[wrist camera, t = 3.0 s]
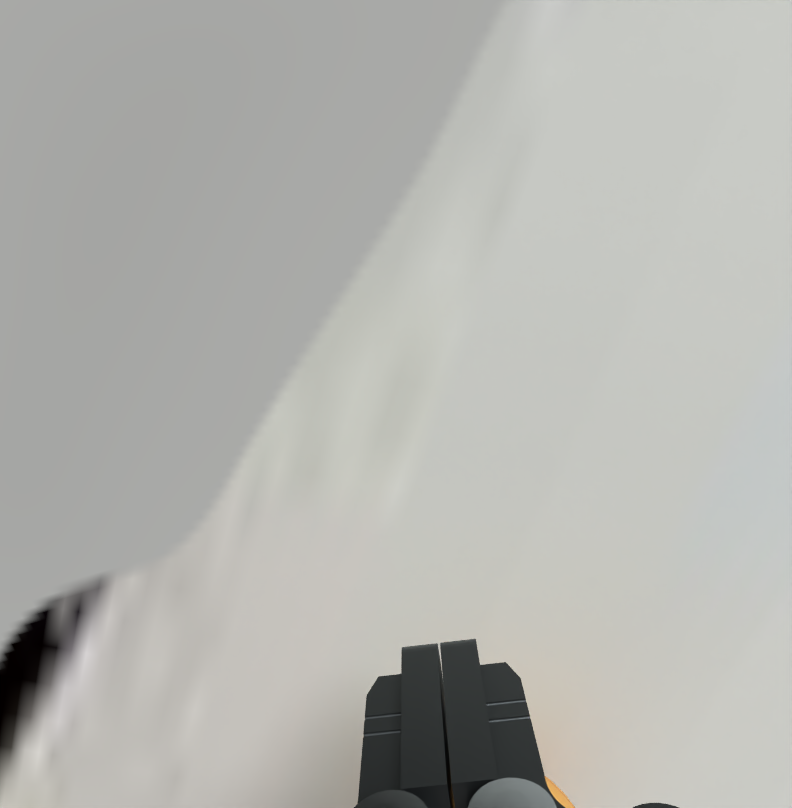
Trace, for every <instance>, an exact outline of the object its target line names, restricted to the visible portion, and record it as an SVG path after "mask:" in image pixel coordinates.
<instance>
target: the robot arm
mask: <svg viewBox="0 0 792 808" xmlns="http://www.w3.org/2000/svg"><path fill="white" fill-rule="evenodd" d="M440 646H441V659H442V670H441V663H440V656H439V649H438V644H428V645H419V646H410V647H402V673H401V674H398V675H389V676H380V677H378V678H377V680H376V682H375V683H374V685H373V686H372V688H371V690H370V691H369V693H368V694H367V698H366V710H365V723H364V737H363V747H362V760H361V772H360V784H359V796H358V804H357V805H356V806H355V807H354V808H565V807H564V806H563V805H561V804H560V803H559V802H558V801H557V800H556V799H555V797H554V796H553V795H552V794H551V792H550V790H549V788H548V786H547V783H546V780H545V776H544V772H543V768H542V764H541V759H540V755H539V751H538V747H537V743H536V739H535V735H534V731H533V727H532V723H531V719H530V715H529V711H528V707H527V703H526V699H525V694H524V690H523V686H522V682H521V678H520V677H519V676H518V675H517V674H516V673H515V672H514V671H513V670H512V669H511V668H510V666H509V665H508V664H507V663H506V662H504V663H495V664H486V665H480V663H479V657H478V650H477V644H476V639H470V640H461V641H453V642H444V643H440ZM442 672H443V677H442ZM633 808H678V807H676V806H672V805H668V804H662V803H647V804H641V805H638V806H635V807H633Z"/></svg>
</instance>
